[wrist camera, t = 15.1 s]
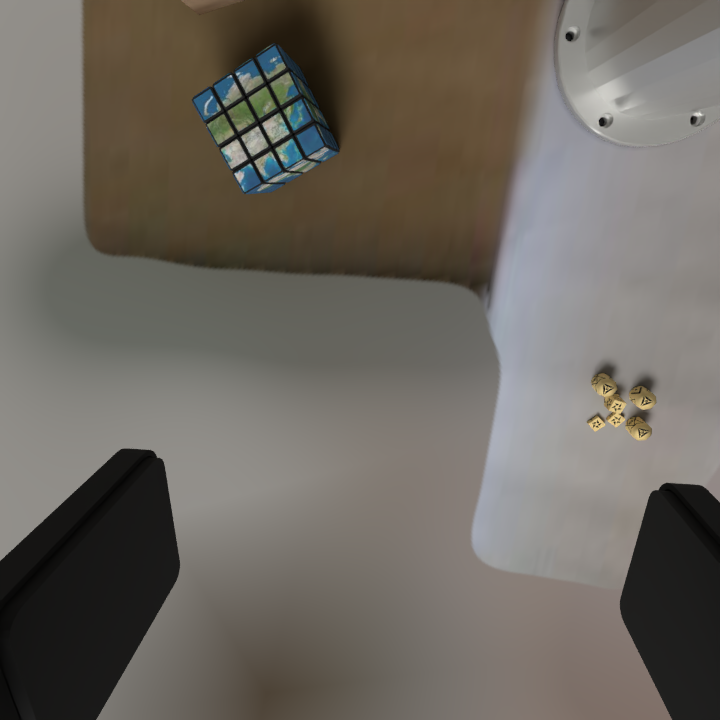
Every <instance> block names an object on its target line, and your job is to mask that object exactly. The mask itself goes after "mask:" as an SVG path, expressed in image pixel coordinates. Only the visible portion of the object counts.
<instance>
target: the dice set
mask: <svg viewBox="0 0 720 720" xmlns="http://www.w3.org/2000/svg"><path fill="white" fill-rule="evenodd" d="M591 383H592V387H593V388H594V389H595V390H596V392H597V393H598V394H600V395H602V396H604V397H605V401H604V406H605V407H606V408H607V409H608V410H609V411H612V412H613V413H612V414H611V415H610V416H608V417H607V418H606V420H607V421H608V422H610V423H611V424H612V425H614V426H615V427H617V426H619V425H620V424H621V423H622V422H623V421H624V420H625V418H624V417H622V416H621V415H620V414H621V412H622V410H623V409H624V407H625V405H626V403H625V402H624V401H623V400H622V399H621V398H619V395H618V394H614V393H615V391H616V390H617V385H616V382H615V381H614V380H613V379H612V378H611V377H610V376H608V375H606V374H604V373H601V374H597V375H595V376H594V377H593V379H592V380H591ZM629 397H630V400H631V401H632V402H633V403H634V404H635V405H636V406H637V407H639V408H641V409H642V410H646V409H651V408H652V407H653V406H654V405H655V404H656V396H655V395H654V394H653V393H651V392H650V391H649V390H648V389H646V388H645V387H643V386H638V387H634V388H633V389H632V390H631V391H630V393H629ZM587 423H588V424H589V425H590V426H591V428H592V429H593V430H594V431H595V432H596V431H597V430H599V429H600V428H602V427H603V426H605V424H604V422H603V421H602V420H601V419H600V418H599V417H598V416H597V415H596V416H595V417H593V418H592V419H590V420H589V421H587ZM626 430H627V431H628V432H629V433H630V434H631V435H632V436H633V437H634V438H635V439H637V440H638V441H639V440H646V439H647V438H649V437H650V436H651V433H652V428H651V427H650V426H649V425H648V424H647V423H646V422H645V421H644V420H642V419H641V418H640V417H632V418H630V419H629V420H628V421H627V422H626Z"/></svg>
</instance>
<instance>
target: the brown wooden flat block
mask: <svg viewBox="0 0 720 720" xmlns="http://www.w3.org/2000/svg"><path fill="white" fill-rule="evenodd" d="M181 1H182V2H184V3H185V4H186V5H187V6H189V7H190V8H191V9H192V10H194V11H195V12H196V13H197V14H199V15H201V14H204V13H207V12H210V11H213V10H216V9H219V8H222V7H225V6H228V5H232V4H235V3H238V2H241V1H244V0H181Z"/></svg>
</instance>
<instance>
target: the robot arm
mask: <svg viewBox="0 0 720 720" xmlns="http://www.w3.org/2000/svg"><path fill="white" fill-rule="evenodd" d="M567 33H570V34H571V35H572V40H571V41H567V39H566V38H565V36H566V34H567ZM554 67H555V72H556V77H557V83H558V87H559V89H560V92H561V94H562V97H563V99H564V102H565V104H566V106H567V107H568V109H569V110H570V112H571V113H572V115H573V116H574V118H575V119H576V120H577V121H578V122H579V123H580V124H581V125H582V126H583V127H584V128H585V129H586V130H588V131H589V132H590V133H592V134H594V135H595V136H597V137H599V138H601V139H602V140H604V141H607V142H610V143H614V144H617V145H620V146H628V147H650V146H659V145H663V144H668V143H673V142H677V141H679V140H682V139H684V138H687V137H689V136H692V135H694V134H697V133H698V132H700V131H702V130H703V129H705V128H707V127H708V126H710V125H712V124H713V123H715V122H716V121H718V120H719V119H720V0H565V1H564V4H563V7H562V10H561V13H560V16H559V19H558V24H557V30H556V36H555V42H554ZM691 117H693V123H692V124H691V123H690V118H691ZM600 118H603V119H604V125H603V126H600V125H599V119H600ZM179 569H180V560H179V554H178V547H177V541H176V535H175V529H174V522H173V516H172V510H171V503H170V497H169V491H168V484H167V478H166V472H165V466H164V462H163V460H162V459H160V458H157V456H156V454H155V453H154V452H153V451H151V450H141V449H121V450H120V451H118V452H117V453H116V454H115V455H114V456H113V457H111V458H110V459H109V460H108V461H107V462H106V463H105V464H104V465H103V466H102V467H101V468H100V469H99V470H97V471H96V472H95V473H94V474H93V475H92V476H91V477H90V478H89V479H88V480H87V481H86V482H85V483H84V484H82V486H80V488H78V489H77V490H76V491H75V492H74V493H73V494H72V495H71V496H70V497H69V498H67V499H66V500H65V501H64V502H63V503H62V504H61V505H60V506H59V507H58V508H57V509H56V510H55V511H53V512H52V513H51V514H50V515H49V516H48V517H47V518H46V519H45V520H44V521H43V522H42V523H41V524H40V525H38V526H37V527H36V528H35V529H34V530H33V531H32V532H31V533H30V534H29V535H28V536H27V537H26V538H24V539H23V540H22V541H21V542H20V543H19V544H18V545H17V546H16V547H15V548H14V549H13V550H12V551H11V552H9V553H8V555H6V556H5V557H4V558H3V559H2V560H1V561H0V720H96V719H97V717H98V716H99V714H100V712H101V710H102V709H103V707H104V705H105V703H106V702H107V700H108V698H109V697H110V695H111V693H112V691H113V689H114V688H115V686H116V685H117V683H118V681H119V679H120V678H121V676H122V674H123V672H124V671H125V669H126V667H127V665H128V664H129V662H130V660H131V659H132V657H133V655H134V653H135V652H136V650H137V648H138V646H139V645H140V643H141V641H142V639H143V637H144V636H145V634H146V633H147V631H148V629H149V627H150V626H151V624H152V622H153V620H154V619H155V617H156V615H157V613H158V612H159V610H160V608H161V607H162V604H163V603H164V601H165V600H166V598H167V596H168V594H169V593H170V591H171V589H172V588H173V586H174V584H175V582H176V580H177V577H178V574H179ZM620 610H621V615H622V618H623V621H624V623H625V625H626V627H627V629H628V631H629V633H630V635H631V637H632V639H633V641H634V644H635V645H636V648H637V649H638V652H639V653H640V656H641V658H642V660H643V661H644V664H645V666H646V668H647V669H648V672H649V674H650V676H651V678H652V680H653V682H654V684H655V686H656V688H657V690H658V692H659V694H660V696H661V698H662V700H663V702H664V704H665V706H666V708H667V710H668V712H669V714H670V716H671V718H672V720H720V502H719V501H718V500H717V499H716V498H715V497H714V496H713V495H712V494H711V493H710V492H709V491H708V490H707V489H706V488H704V487H703V486H700V485H691V484H675V483H665V484H663V485H662V486H661V487H660V488H659V490H655V491H653V492H652V493H651V494H650V496H649V499H648V503H647V506H646V510H645V513H644V517H643V521H642V524H641V528H640V531H639V535H638V538H637V542H636V545H635V549H634V552H633V556H632V560H631V563H630V567H629V570H628V574H627V577H626V581H625V584H624V588H623V591H622V595H621V599H620Z"/></svg>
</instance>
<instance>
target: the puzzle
mask: <svg viewBox="0 0 720 720" xmlns="http://www.w3.org/2000/svg"><path fill="white" fill-rule="evenodd" d="M255 59H256V60H255ZM255 59H254V58H251V59H249V60H248V61H246V62H245V63H243V64H242V65H241V66H239V67H238V68H236V69H235V70H234V74H233V73H231V72H230V73H229V74H227V75H226V76H224V77H223V78H221V79H220V80H218V81H217V82H215V83H214V84H213V86H212V87H213V88H212V87H208V88H206V89H205V90H203V91H202V92H200V93H199V94H197V95H196V96H194V97H193V99H192V101H193V104H194V106H195V108H196V110H197V111H198V113H199V115H200V117H201V119H202V120H203V122H204V123H207V124H206V126H207V129H208V131H209V133H210V135H211V137H212V138H213V140H214V142H215V144H216V145H217V147H221V148H220V149H219V150H220V153H221V154H222V156H223V158H224V160H225V162H226V163H227V165H228V167H229V169H230V170H231V171H233V176H234V178H235V180H236V181H237V183H238V185H239V187H240V189H241V190H242V192H243V193H244V194H252V193H254V194H255V193H266V192H267V193H268V192H272V191H274V190H276V189H278V188H279V187H281V186H283V185H284V184H285V183H286V182H290V181H291V180H293V179H295V178H297V177H298V176H300V175H302V173H303V172H307V171H309V170H310V169H312V168H314V167H316V166H317V165H319V164H320V163H321V161H323V162H324V161H326V160H328V159H329V158H331V157H333V156H335V155H336V154H338V152H339V148H338V146H337V143H336V141H335V139H334V137H333V135H332V133H331V132H329V127H328V125H327V123H326V121H325V119H324V117H323V114H322V112H321V111H320V110H319V106H318V104H317V102H316V100H315V98H314V96H313V94H312V92H311V90H310V89H309V88H308V83H307V81H306V79H305V77H304V75H303V73H302V71H301V69H300V67H299V66H298V65H297V64H295V62H294V61H293V60H292V59H291V58H290V57H289V56H288V55H287V54H286V52H285V51H283V49H282V48H281V47H280V46H279V45H277V44H276V43H273V44H272V45H270V46H269V47H267V48H266V49H264V50H263V51H261V52H260V53H258V54H257V55H256V56H255Z"/></svg>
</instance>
